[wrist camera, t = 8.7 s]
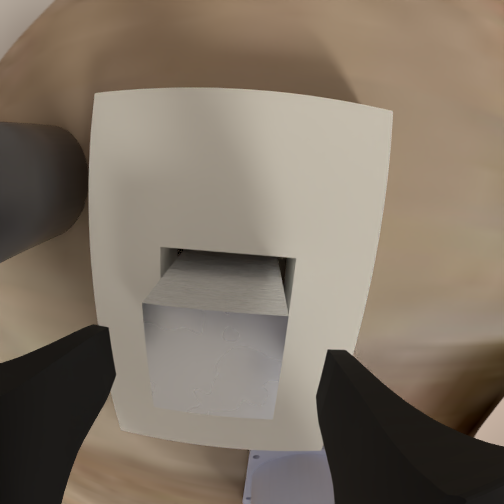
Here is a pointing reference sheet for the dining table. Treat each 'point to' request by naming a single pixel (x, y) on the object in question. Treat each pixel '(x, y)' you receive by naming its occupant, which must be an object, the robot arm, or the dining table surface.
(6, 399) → the robot arm
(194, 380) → the square peg
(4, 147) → the round peg
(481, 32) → the dining table surface
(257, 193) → the bore plate
